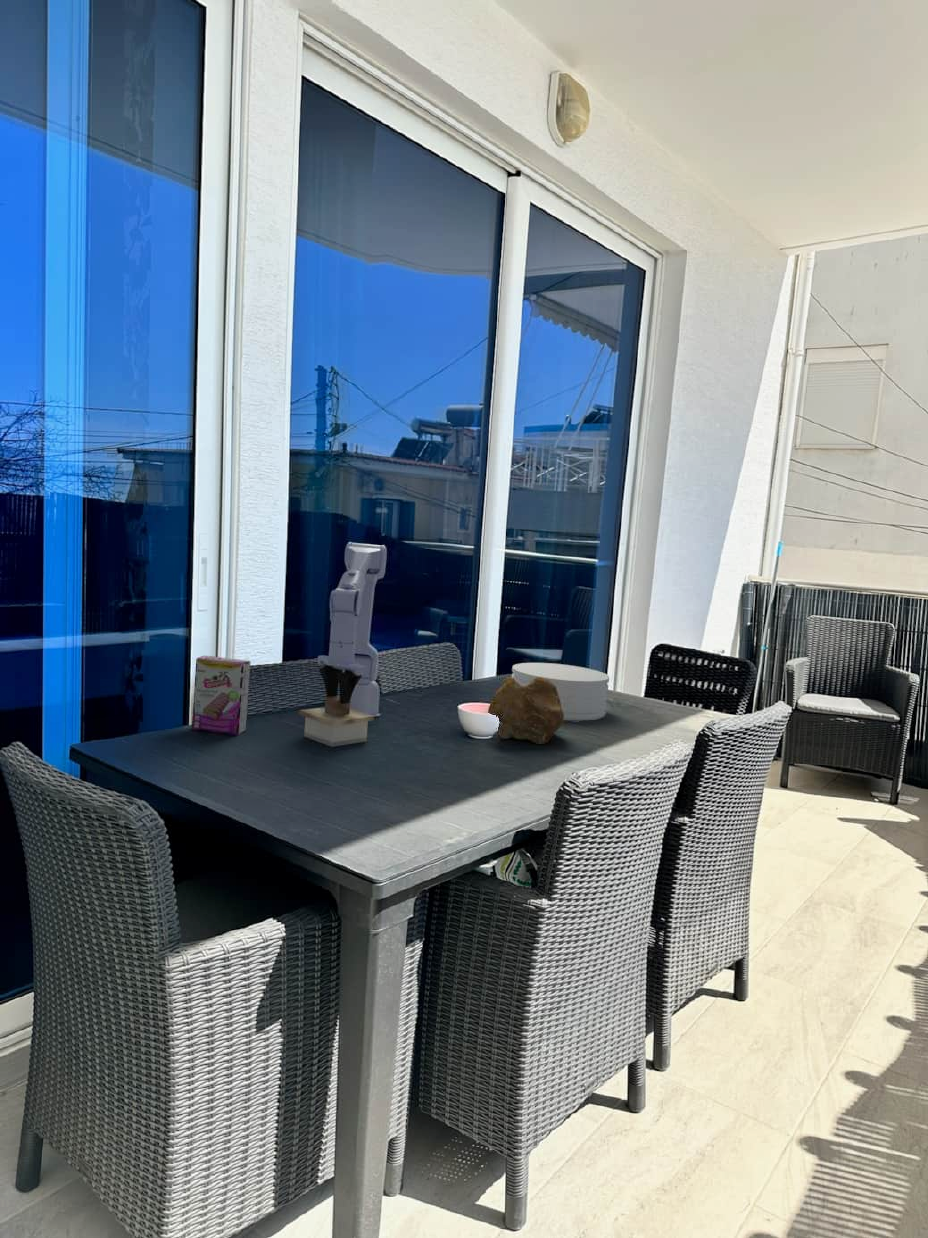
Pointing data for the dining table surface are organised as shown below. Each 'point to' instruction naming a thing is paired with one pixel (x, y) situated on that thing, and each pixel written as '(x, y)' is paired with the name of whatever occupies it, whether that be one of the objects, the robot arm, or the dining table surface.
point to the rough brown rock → (527, 710)
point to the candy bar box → (221, 695)
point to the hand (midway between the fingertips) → (338, 701)
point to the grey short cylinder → (569, 687)
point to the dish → (335, 732)
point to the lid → (336, 713)
